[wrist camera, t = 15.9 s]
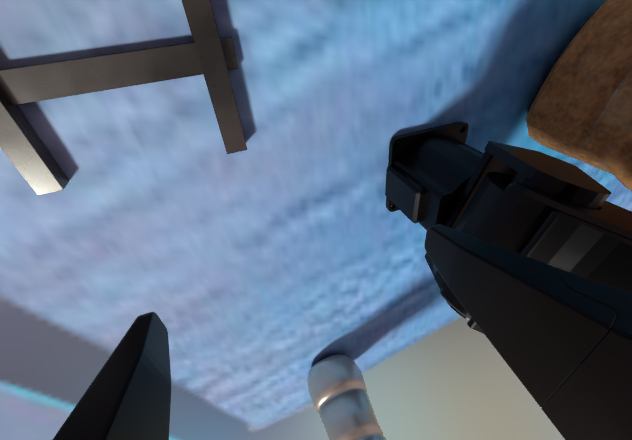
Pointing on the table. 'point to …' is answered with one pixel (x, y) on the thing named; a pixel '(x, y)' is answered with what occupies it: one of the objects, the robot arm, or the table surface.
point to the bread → (591, 95)
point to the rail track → (109, 73)
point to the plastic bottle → (343, 400)
